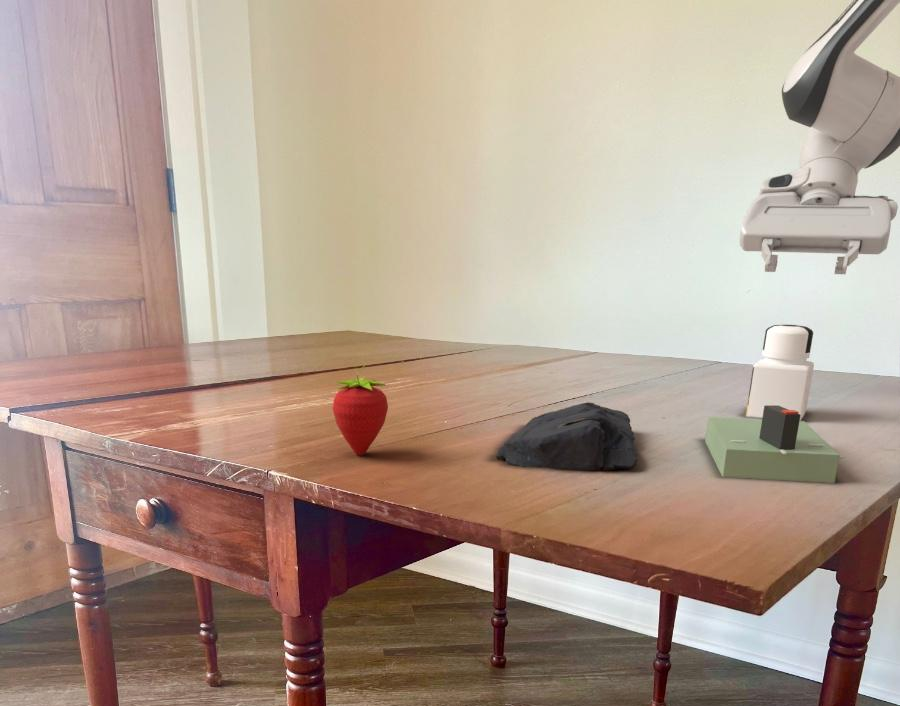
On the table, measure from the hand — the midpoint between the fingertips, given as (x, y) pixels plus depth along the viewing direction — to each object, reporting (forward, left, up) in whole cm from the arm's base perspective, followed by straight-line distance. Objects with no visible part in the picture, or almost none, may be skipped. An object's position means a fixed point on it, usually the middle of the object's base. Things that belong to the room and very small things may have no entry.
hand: (804, 270), depth 123 cm
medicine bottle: (+3, +12, -19) cm, 22 cm away
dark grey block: (+9, +45, -16) cm, 48 cm away
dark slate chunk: (+30, +38, -19) cm, 52 cm away
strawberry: (+53, +47, -19) cm, 73 cm away
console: (+9, +39, -19) cm, 45 cm away
